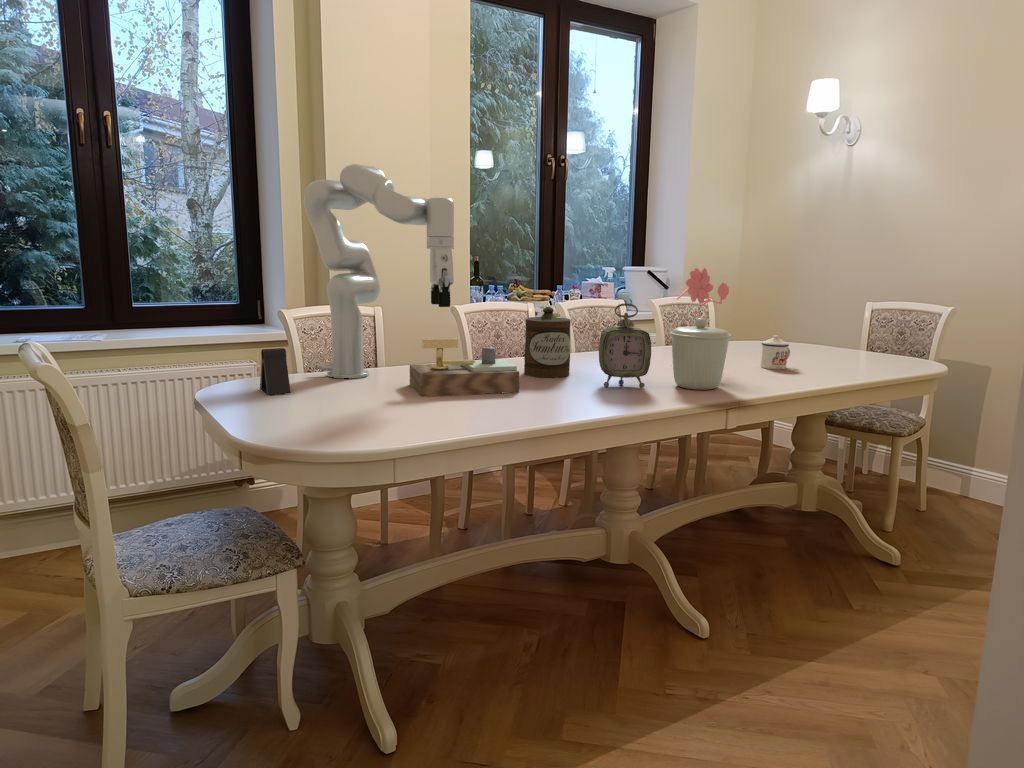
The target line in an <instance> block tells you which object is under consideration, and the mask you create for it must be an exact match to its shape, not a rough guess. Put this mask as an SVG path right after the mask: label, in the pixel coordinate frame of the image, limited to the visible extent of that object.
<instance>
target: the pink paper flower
mask: <svg viewBox="0 0 1024 768" xmlns="http://www.w3.org/2000/svg"><path fill="white" fill-rule="evenodd" d="M689 276H690V277H689V278H688V279H687V280H685V285H686V286H687V288H686V289H685V290H683V292H681V293H680V294H679V295H678V297H677V298H676V300H679V299H681V297H683V296H684V295H685V294H686V293H687V294H688V295H690V300H691V302H692V303H694V302H696V301H698V304H699V306H698V308H697V310H698V311H697V312H698V315H699V316H698V317H699V318H702V315H701V311H700V308H702V307H703V306H705V305H707V303H710V302H711V303H715V304H719V305H722V304H723V301H725V299H726V298H727V297H728V295H729V292H730V288H729V286H728V285H727V284H726V283H725V282H721V283H720V285H719V286H718V287H717V295H718V297H719V298H720V301H717V300H712V299H711V298H710V297H709V295H710V294H709V293H710V292H712V290H714V289H713V288H714V285H713V284H712V283H710V279H711V277H710V276H709V275H708V270H707V268H705V267H704V268H703V269H702V270H701V271H700V269H699V268H697V267H695V268H694V270H691V271H689ZM705 327H707V325H706V326H705Z"/></svg>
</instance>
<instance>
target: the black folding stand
mask: <svg viewBox="0 0 1024 768" xmlns="http://www.w3.org/2000/svg"><path fill="white" fill-rule="evenodd" d="M260 350H261V352H260V353H261V354H260V356H261V365H260V379H259V380H260V383H259V390H260V391H261V390H262V391H263V392H262V391H261V392H262V393H264V394H265V393H266V394H265V395H267V396H268V395H270V396H276V395H275V394H281V395H286V394H285V393H291V385H290V384H291V383H290V379H289V378H290V376H289V371H288V362H287V350H286V348H285V347H282V348H281V347H280V348H279V347H278V348H263V349H260Z"/></svg>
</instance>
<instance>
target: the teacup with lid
mask: <svg viewBox="0 0 1024 768" xmlns="http://www.w3.org/2000/svg"><path fill="white" fill-rule="evenodd" d="M761 345H762V347H761V358H760V359H761V360H760V367H761V368H762V369H767V370H778V371H779V370H785V369H786V368H787V360H788V359H789V358H790V356H791V349H790V348H789V345H790V344H789V342H787V341H784V340H783V339H781V338H780V336H779V335H778V334H777V335H776V334H773V335H772V338H769V339H767V340H764V341H762V343H761Z"/></svg>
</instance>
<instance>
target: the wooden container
mask: <svg viewBox="0 0 1024 768" xmlns="http://www.w3.org/2000/svg"><path fill="white" fill-rule="evenodd" d="M542 312H543V313H542V315H541V316H533V317H532V316H530V317H527V318H525V336H524V337H525V343H524V355H523V356H524V358H523V359H524V366H523V367H524V368H523V371H524V372H523V373H524V375H526V376H528V375H529V376H528V377H533V376H534V377H533V378H542V377H544V378H545V379H551V378H552V379H553V378H554V379H556V378H555V377H558V378H563V377H568V376H569V375H570V370H571V369H570V367H571V364H570V363H571V325H572V324H571V319H570V318H568V317H560V316H559V317H558V316H556V315H555V314H554V308H552V307H550V306H545V307H543V308H542Z"/></svg>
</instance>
